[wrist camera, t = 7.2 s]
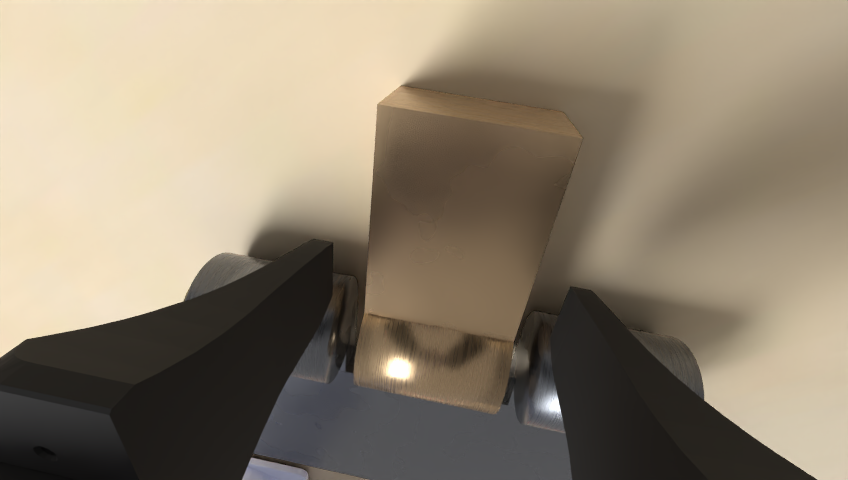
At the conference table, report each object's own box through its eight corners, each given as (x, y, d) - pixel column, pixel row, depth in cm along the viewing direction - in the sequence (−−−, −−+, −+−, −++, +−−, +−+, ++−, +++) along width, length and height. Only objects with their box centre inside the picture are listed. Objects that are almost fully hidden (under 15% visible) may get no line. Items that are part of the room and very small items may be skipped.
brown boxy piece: (489, 354, 17) (489, 438, 14) (378, 331, 17) (351, 409, 14) (563, 111, 12) (593, 151, 8) (401, 85, 12) (366, 112, 9)
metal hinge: (577, 496, 21) (595, 588, 18) (253, 425, 22) (210, 499, 19) (690, 318, 15) (751, 411, 11) (220, 230, 16) (146, 290, 12)
